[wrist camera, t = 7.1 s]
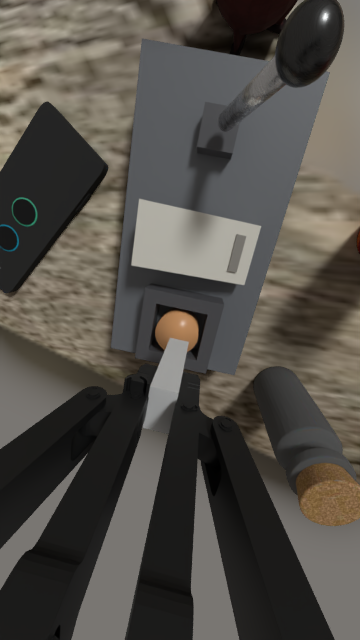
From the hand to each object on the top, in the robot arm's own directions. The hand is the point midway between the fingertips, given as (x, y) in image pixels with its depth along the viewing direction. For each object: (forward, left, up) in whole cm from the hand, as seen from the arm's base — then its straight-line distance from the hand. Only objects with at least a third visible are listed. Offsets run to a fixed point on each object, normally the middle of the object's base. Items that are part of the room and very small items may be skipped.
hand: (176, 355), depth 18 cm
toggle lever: (0, -17, -5) cm, 17 cm away
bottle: (-14, +7, -12) cm, 19 cm away
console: (0, -9, -11) cm, 14 cm away
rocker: (0, -8, -4) cm, 9 cm away
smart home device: (+20, -8, -12) cm, 25 cm away
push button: (0, 0, -6) cm, 6 cm away
